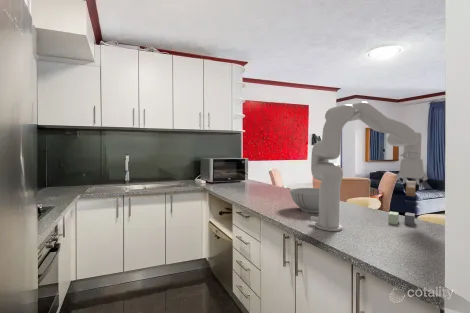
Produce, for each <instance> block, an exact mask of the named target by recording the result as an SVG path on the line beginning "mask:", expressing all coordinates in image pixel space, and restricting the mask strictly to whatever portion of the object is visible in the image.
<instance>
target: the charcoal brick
mask: <svg viewBox="0 0 470 313" xmlns="http://www.w3.org/2000/svg"><path fill="white" fill-rule="evenodd" d="M415 217H416V213H412V212H405V214H404V223H403V224H404V225H405V224H408V225H407V226H412V225H413V226H415V222H416V221H415V220H416V218H415Z"/></svg>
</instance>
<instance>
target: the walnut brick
mask: <svg viewBox="0 0 470 313" xmlns="http://www.w3.org/2000/svg"><path fill="white" fill-rule="evenodd" d="M415 184H416V180H406V191H405V196H406V197H416V193H417V192H415Z"/></svg>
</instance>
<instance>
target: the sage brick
mask: <svg viewBox="0 0 470 313" xmlns="http://www.w3.org/2000/svg"><path fill="white" fill-rule="evenodd" d="M399 214H400V213H399V212H397V211H391V210H390V211H389V212H388V216H387V218H388V219H387V220H388V221H387V223H388V224H391V225H398V223H399V216H400V215H399Z"/></svg>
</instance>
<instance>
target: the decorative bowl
mask: <svg viewBox="0 0 470 313" xmlns="http://www.w3.org/2000/svg"><path fill="white" fill-rule="evenodd" d="M289 194H290V197H291V200H292V201H293V203H295V205H296V206H297V207H299V208H300V210H301V211H303V212H306V213H314V214H315V213H319V188H316V187H295V188H290V189H289Z"/></svg>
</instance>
